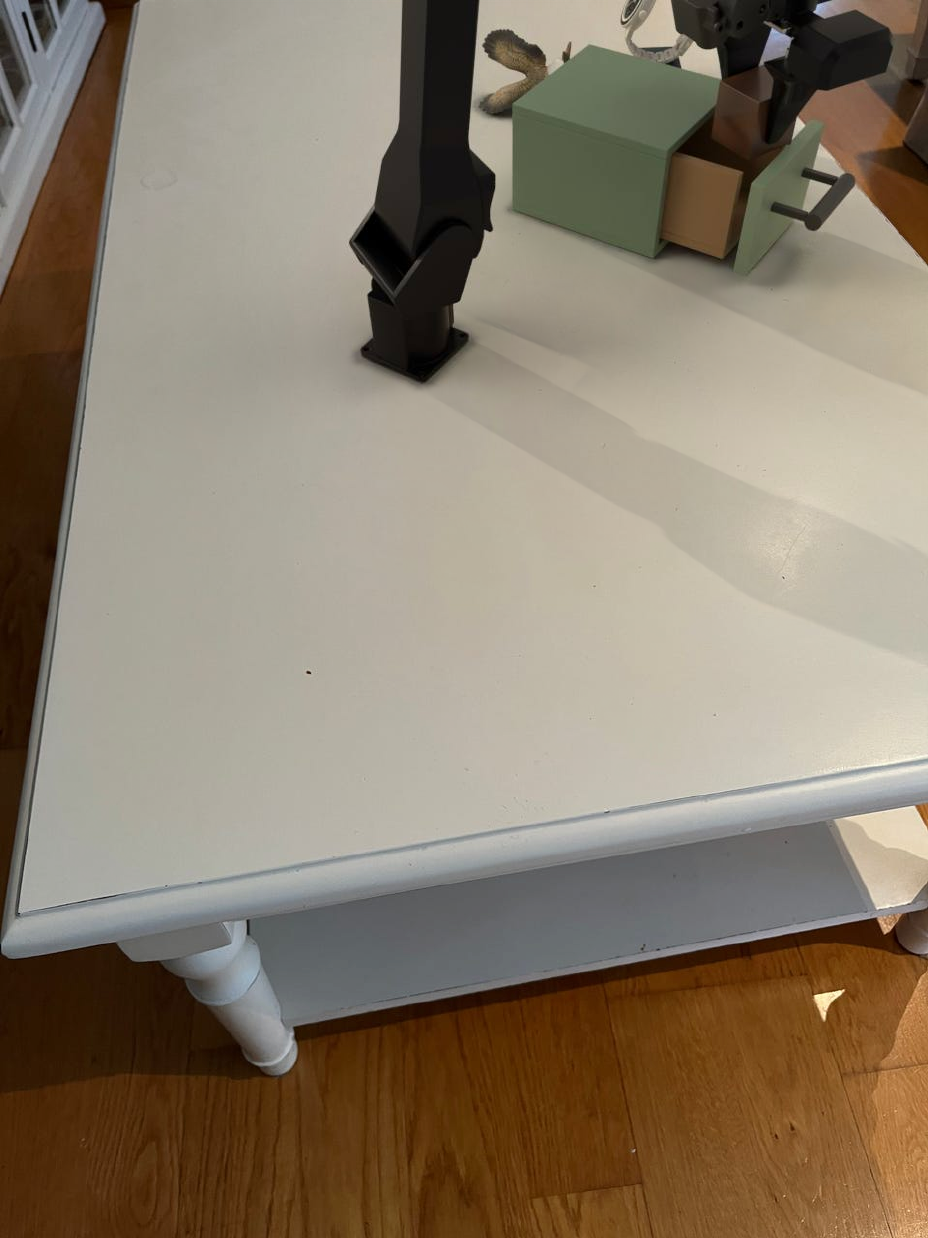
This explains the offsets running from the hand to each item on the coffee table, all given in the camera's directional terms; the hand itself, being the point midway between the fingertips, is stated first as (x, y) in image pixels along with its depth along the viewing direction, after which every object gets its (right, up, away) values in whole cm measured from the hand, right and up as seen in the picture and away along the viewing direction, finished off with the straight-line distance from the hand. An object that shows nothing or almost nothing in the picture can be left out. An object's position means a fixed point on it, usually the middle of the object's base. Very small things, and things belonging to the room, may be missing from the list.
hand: (752, 128), depth 77 cm
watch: (-3, +16, +24) cm, 29 cm away
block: (0, -1, +1) cm, 1 cm away
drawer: (0, -5, +7) cm, 9 cm away
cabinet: (-9, -1, +12) cm, 15 cm away
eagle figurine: (-17, +14, +23) cm, 32 cm away
